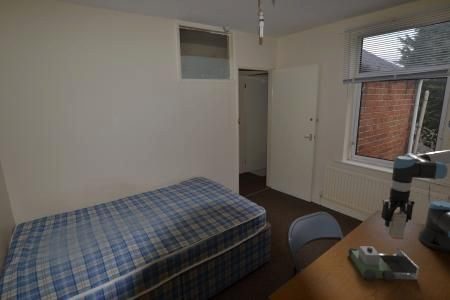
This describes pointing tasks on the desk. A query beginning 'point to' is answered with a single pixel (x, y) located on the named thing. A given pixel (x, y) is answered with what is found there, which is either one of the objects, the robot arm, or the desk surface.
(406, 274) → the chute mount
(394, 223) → the supplement box
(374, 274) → the toy wooden truck
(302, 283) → the desk surface
